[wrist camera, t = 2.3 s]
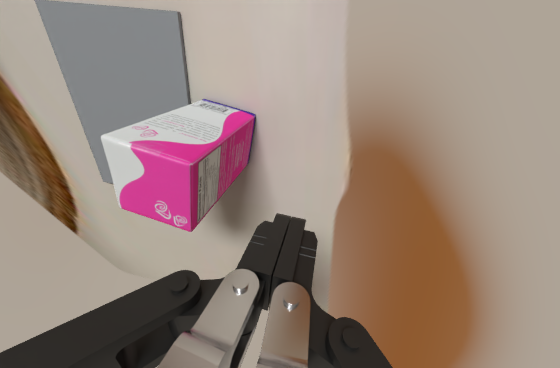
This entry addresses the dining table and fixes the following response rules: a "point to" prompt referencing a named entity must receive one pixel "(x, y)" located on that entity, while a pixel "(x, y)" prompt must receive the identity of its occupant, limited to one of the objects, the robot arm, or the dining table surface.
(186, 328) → the robot arm
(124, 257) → the dining table surface
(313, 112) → the dining table surface
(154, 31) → the rubber mat
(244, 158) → the supplement box
